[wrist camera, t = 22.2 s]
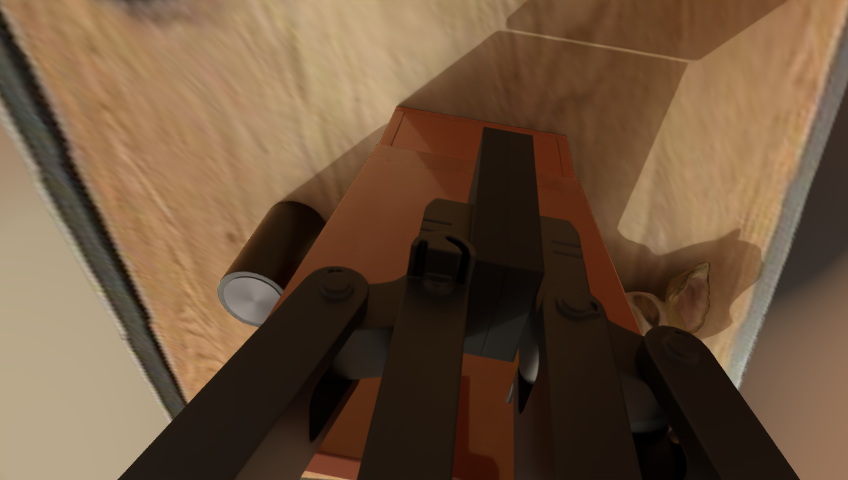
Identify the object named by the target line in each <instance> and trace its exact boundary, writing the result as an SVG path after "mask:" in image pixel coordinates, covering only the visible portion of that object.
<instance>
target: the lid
mask: <svg viewBox="0 0 848 480" xmlns="http://www.w3.org/2000/svg"><path fill="white" fill-rule="evenodd" d="M475 164H476V161H470V160H465V159H459V158H453V157H448V156H442V155H437V154H431V153H426V152H420V151H414V150H409V149H403V148H398V147H392V146H387V145H381V144H377V145H376V146H375V148H374V149H373V151H372V152H371V154H370V156H369V157H368V159H367V160H366V162H365V164H364V165H363V167H362V168H361V170H360V171H359V173H358V175H357V176H356V178H355V179H354V181H353V182H352V184H351V186H350V187H349V189H348V190H347V192H346V194H345V195H344V197H343V198H342V200H341V201H340V203H339V205H338V206H337V208H336V209H335V211H334V212H333V214H332V216H331V217H330V219H329V220H328V222H327V224H326V225H325V227H324V228H323V230H322V231H321V233H320V235H319V236H318V238H317V239H316V241H315V242H314V244H313V246H312V247H311V249H310V250H309V252H308V254H307V255H306V257H305V258H304V260H303V261H302V263H301V265H300V266H299V268H298V269H297V271H296V273H295V274H294V276H293V277H292V279H291V280H290V282H289V284H288V285H287V287H286V288H285V290H284V291H283V293H282V295H281V296H280V298H279V299H278V301H277V303H276V304H275V306H274V307H273V309H272V310H271V312H270V314H269V315H268V317H269V316H270V315H271V314H272V313H273V312H274V311H275V310H276V309H277V308H278V307H279V306H280V305H281V304H282V302H283V301H284V300H285V299H286V298H287V297H288V296H289V295H290V294H291V293H292V292H293V291H294V290H295V288H296V287H297V286H298V285H299V284H300V283H301V282H302V281H303V280H304V279H305V278H306V277H307V276H308V275H309V274H311V273H312V272H314V271H315V270H317V269H321V268H324V267H327V266H342V267H347V268H351V269H353V270H355V271H357V272H359V273H361V274H362V275H363V276H364V278H365V279H366V280H367V281H368V284H374V283H385V282H390V281H394V280H397V279H399V278H400V277H402V276H404V275H405V274H406V273H407V270H408V263H409V256H410V249H411V244H412V242H413V241H414V239H415V238H416V237H418V236H419V232H420V228H421V224H422V220H423V215H424V211H425V207H426V206H427V205H428V204H429V203H430V202H432V201H433V200H434V199H435V198H440V199H446V200H451V201H457V202H462V203H467V202H468V197H469V192H470V188H471V183H472V178H473V173H474V169H475ZM536 178H537V189H538V200H539V212H540V215H542V216H547V217H553V218H558V219H564V220H569V221H570V222H571V224H572V225H573V226H574V227H575V229H576V230H577V231H578V233H579V236H580V241H581V248H582V251H583V259H584V262H585V267H586V272H587V277H588V283H589V288H590V293H591V294H592V295H593V296H595V297H596V298H597V299H598V300H599V301H600V302H601V303H602V305H603V307H604V309H605V311H606V314H607V318H608V319H609V320H611V321H612V322H614V323H615V324H617V325H619V326H621V327H623V328H626V329H628V330H631V331H633V332H635V333H638V334H640V335H642V333H641V331H640V328H639V326H638V323H637V321H636V318H635V316H634V314H633V311H632V309H631V306H630V304H629V301H628V299H627V296H626V294H625V292H624V289H623V287H622V284H621V282H620V279H619V277H618V274H617V272H616V270H615V267H614V265H613V262H612V260H611V257H610V255H609V252H608V250H607V248H606V245H605V243H604V240H603V238H602V235H601V233H600V230H599V228H598V226H597V223H596V221H595V218H594V216H593V213H592V211H591V208H590V206H589V204H588V201H587V199H586V196H585V194H584V191H583V189H582V187H581V184H580V182H579V180H576V179H571V178H565V177H559V176H554V175H548V174H543V173H537V172H536ZM268 317H267V318H266V320H267V319H268ZM266 320H265V321H266ZM265 321H264V322H265ZM518 365H519V348H518V351H517V354H516V357H515V359H514V362H513V363H512V362H507V361H501V360H496V359H491V358H486V357H480V356H475V355H470V354H465V353H463V362H462V373H461V384H460V395H459V406H458V417H457V429H456V440H455V451H454V462H453V473H452V480H514V442H513V398H512V401H511V403H510V404H508V403H506V399H507V395H508V392H509V390H510V387H511V384H512V381H513V378H514V376H515V373H516V370H517V367H518ZM381 378H382V377H377V378H366V379H360V381H359V384H358V386H357V387H356V389H355V391H354V392H353V394H352V395H351V397H350V399H349V400H348V402H347V403H346V405H345V407H344V408H343V410H342V411H341V413H340V415H339V416H338V418H337V420H336V421H335V423H334V424H333V426H332V428H331V429H330V431H329V432H328V434H327V436H326V437H325V439H324V440H323V442H322V444H321V445H320V447H319V449H318V450H317V452H316V453H315V455H314V457H313V458H312V460H311V461H310V463H309V465H308V466H307V468H306V469H305V471H308V472H313V473H318V474H323V475H328V476H333V477H338V478H343V479H348V480H357V476H358V472H359V468H360V464H361V460H362V456H363V452H364V448H365V444H366V440H367V436H368V431H369V427H370V423H371V419H372V415H373V411H374V407H375V403H376V399H377V395H378V391H379V387H380V383H381Z"/></svg>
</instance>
